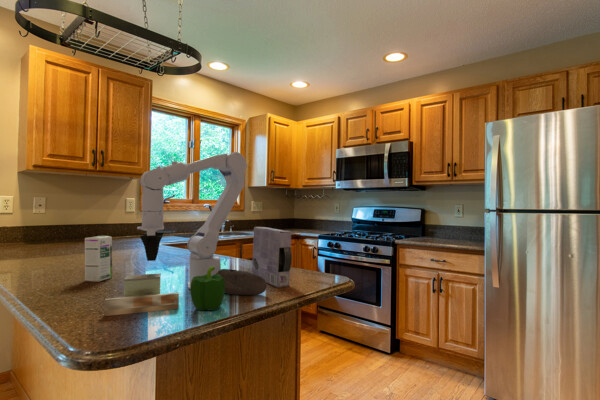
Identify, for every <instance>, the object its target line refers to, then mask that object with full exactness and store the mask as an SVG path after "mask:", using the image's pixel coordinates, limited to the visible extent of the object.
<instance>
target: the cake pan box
mask: <svg viewBox="0 0 600 400" xmlns="http://www.w3.org/2000/svg"><path fill="white" fill-rule="evenodd" d="M252 239H253V242H252V246H253V247H252V265H251V269H252V270H251V273H254V274H257V275H259V276H261V277H262V278H264V280H265V282H266V284H268V285H269V284H270V285H271V286H274V287H275V288H279V289H280V288H284V287H289V286H290V275H291V274H290V273H291V272H290V271H291V267H292V262H293V260H292V259H293V256H292V255H293V254H292V232H291V231H290V230H282V229H278V228H272V227H266V226H254V227H253V238H252Z"/></svg>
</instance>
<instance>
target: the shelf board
mask: <svg viewBox="0 0 600 400" xmlns="http://www.w3.org/2000/svg"><path fill="white" fill-rule="evenodd" d="M179 296H180V295H179V292H168V293H160V294H156V295H144V296H133V297H124V296H120V297H111V298H105V299H104V317H108V316H110V317H111V316H118V315H120V316H121V315H128V314H139V313H140V314H141V313H149V312H160V311H169V310H178V309H180V308H179V306H180V305H179V302H180V301H179V300H180V299H179Z"/></svg>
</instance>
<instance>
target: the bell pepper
mask: <svg viewBox="0 0 600 400" xmlns="http://www.w3.org/2000/svg"><path fill="white" fill-rule="evenodd" d="M214 269H215V267H213V266H211V267H210V268H209V269H208V271H207V274H205V275H203V276H195V277H193V279H192V281H191V289H190V295H191V299H192V303H193V306H194V308H195V309H196V310H198V311H206V310H207V311H214V310H218V309H220V307H221V306H222V303H223V300H224V295H225V293H224V291H225V281H224V278H223V277H221V276H220V275H219V274H215V275H213V276H212V275H211V271H212V270H214Z"/></svg>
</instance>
